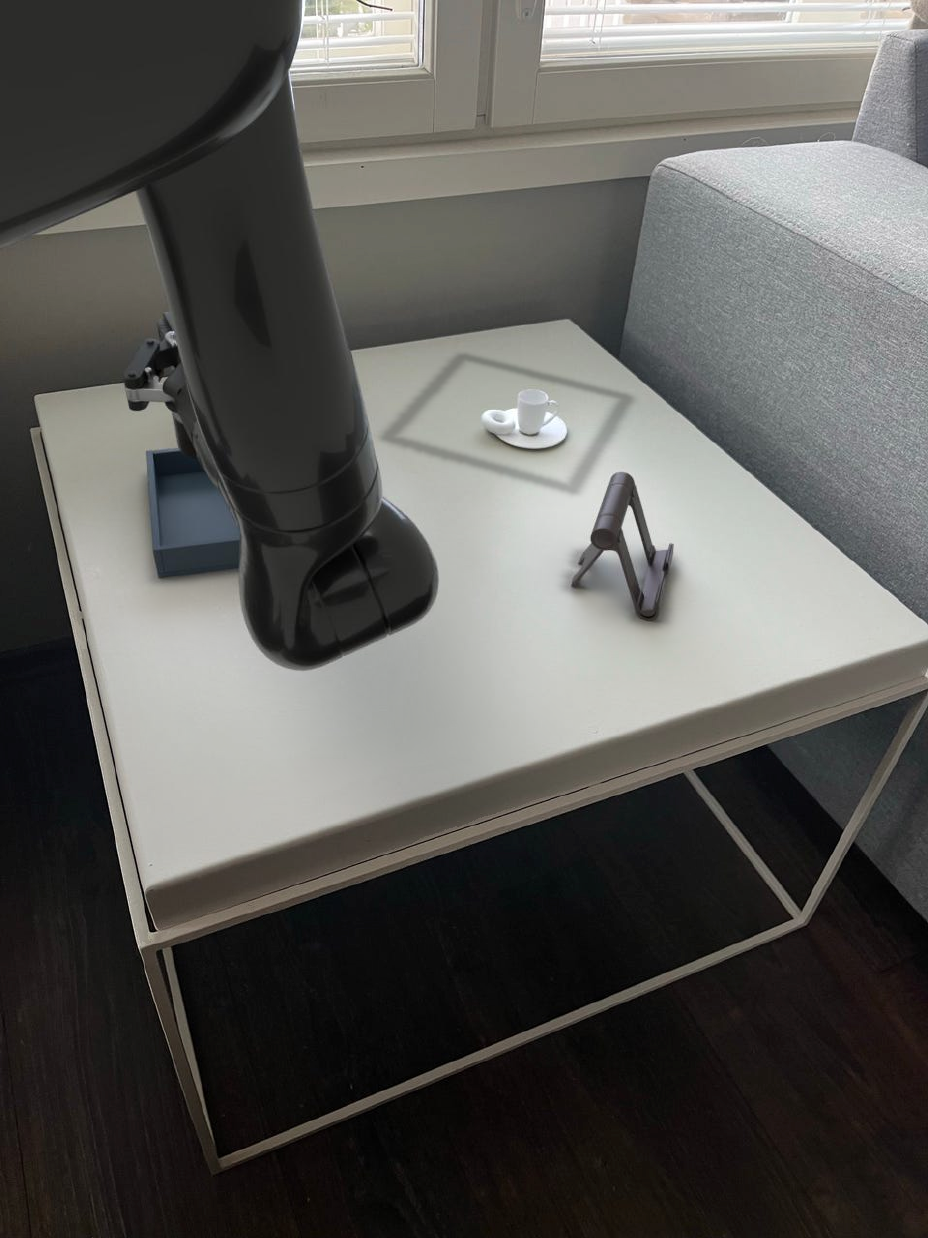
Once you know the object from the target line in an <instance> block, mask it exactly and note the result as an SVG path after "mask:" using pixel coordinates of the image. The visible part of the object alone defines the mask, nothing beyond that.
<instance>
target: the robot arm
mask: <svg viewBox="0 0 928 1238" xmlns="http://www.w3.org/2000/svg"><path fill="white" fill-rule="evenodd" d="M305 6H306V0H0V250H3V249H5V248H7V247H10V246H12V245H14V244H16V243H19V242H21V241H23V240H25V239H28V238H31V237H33V236H35V235H38V234H39V233H42V232H44V231H46V230H48V229H50V228H53V227H55V226H58V225H60V224H62V223H65V222H66V221H69V220H72V219H74V218H76V217H78V216H80V215H83V214H85V213H88V212H90V211H93V210H95V209H97V208H100V207H103V206H104V205H106V204H108V203H111V202H113V201H115V200H118V199H121V198H123V197H125V196H127V195H130V194H132V193H134V194H135V196H136V199H137V202H138V205H139V208H140V211H141V214H142V218H143V219H144V220H143V221H144V223H145V226H146V230H147V232H148V235H149V240H150V243H151V247H152V250H153V254H154V258H155V260H156V265H157V268H158V272H159V276H160V280H161V284H162V289H163V292H164V296H165V301H166V304H167V305H166V306H167V309H168V311H167V312H163V313H162V317H163V319H158V320H157V322H156V326H157V332H158V338H159V339H156V338H146V339H144V340H143V341H141V343H140V345H139V346H138V348H137V350H136V351H135V353H134V355H133V357H132V358H131V360H130V362H129V364H128V365H127V367H126V368H125V371H124V372H123V374H122V379H123V384H124V385H123V386H124V391H125V395H126V396H125V397H126V399H127V404H128V405H127V406H128V409H129V410H130V411H132V412H142V411H144V410H146V409H147V407H148V406H149V404H150V403H164V405H165V407H166V408H167V409H168V410H169V411H170V412H171V413H172V412H174V413H176V414H178V415H179V417H180V419H181V421H182V423H183V425H184V427H185V429H186V431H187V434H188V436H189V438H190V440H191V442H192V444H193V446H194V448H195V450H196V452H197V458H198V460H199V462H200V464H201V466H202V468H203V470H205V471H206V473H207V475H208V477H209V478H210V480H211V482H212V483H213V485H214V486H215V487H216V488H217V490H218V491H219V492H220V493H221V495H222V497H223V499H224V501H225V503H226V505H227V507H228V509H229V511H230V513H231V515H232V517H233V520H234V522H235V524H236V526H237V528H238V530H239V567H238V569H237V570H238V572H237V574H238V575H237V577H238V580H237V581H238V593H239V594H238V595H239V603H240V609H241V613H242V617H243V620H244V624H245V627H246V629H247V631H248V633H249V635H250V638H251V640H252V641H253V643H254V645H255V646H256V647H257V649H258V650H259V651H260V652H261V653H262V654H263V656H264V657H266V658H267V659H268V660H269V661H271V662H272V663H274V664H276V665H277V666H280V667H282V668H285V669H288V670H291V671H298V672H305V671H312V670H316V669H319V668H322V667H324V666H327V665H329V664H331V663H334V662H336V661H338V660H340V659H342V658H344V657H346V656H348V655H351V654H353V653H355V652H357V651H360V650H361V649H364V648H366V647H368V646H371V645H372V644H374V643H377V642H379V641H382V640H383V639H385V638H387V636H392V635H394V634H396V633H397V634H398V633H399V632H402V631H404V630H405V629H407V628H409V627H411V626H413V625H415V624H417V623H419V622H420V621H422V620H423V619H424V618H425V617H426V616H427V615H428V614H429V613H430V611H431V610H432V608H433V606H434V604H435V602H436V599H437V596H438V593H439V585H440V584H439V582H440V579H439V578H440V576H439V569H438V564H437V560H436V557H435V554H434V552H433V550H432V548H431V546H430V543H429V541H428V540H427V539H426V537H425V536H424V534H423V533H422V531H421V530H420V529H419V527H418V526H417V525H416V524H415V523H414V522H413V521H412V519H410V518H409V517H408V516H407V514H405V512H404V511H403V510H402V509H400V508H399V507H398V506H397V505H395V504H394V503H392V502H391V500H390V501H389V499H387V498H385V496H383V483H382V475H381V471H380V467H379V462H378V457H377V453H376V448H375V443H374V439H373V435H372V430H371V425H370V420H369V417H368V412H367V409H366V404H365V399H364V396H363V392H362V387H361V384H360V380H359V377H358V372H357V368H356V365H355V361H354V358H353V354H352V351H351V347H350V344H349V343H350V342H349V340H348V336H347V331H346V329H345V325H344V322H343V321H344V320H343V318H342V314H341V310H340V308H339V304H338V299H337V296H336V291H335V289H334V285H333V281H332V277H331V273H330V269H329V267H328V261H327V259H326V254H325V251H324V246H323V244H322V239H321V236H320V231H319V226H318V224H317V219H316V215H315V210H314V206H313V202H312V197H311V196H312V195H311V191H310V187H309V181H308V177H307V173H306V172H307V171H306V168H305V163H304V159H303V152H302V146H301V145H302V144H301V140H300V133H299V129H298V122H297V117H296V111H295V109H296V108H295V103H294V95H293V88H292V81H291V73H290V69H291V67H292V65H293V62H294V60H295V57H296V53H297V50H298V46H299V43H300V40H301V34H302V29H303V24H304V19H305V18H304V17H305V8H306V7H305ZM168 368H170V369H171V370H172V372H171V373H170V374H169V375H168V376H167V378H166V379H165V380H164V381H163V383H162V382H161V381H162V379H163V377H164V375H165V370H166V369H168Z"/></svg>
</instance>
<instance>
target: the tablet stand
mask: <svg viewBox="0 0 928 1238" xmlns="http://www.w3.org/2000/svg"><path fill="white" fill-rule="evenodd" d="M629 507H630V508H631V510H632V513H633V516H634V519H635V523H636V527H637V531H638V534H639V537H640V541H641V544H642V547H643V551H644V555H645V558H646V562H647V566H648V567H647V571H646V573H645V577H644V581H643V584H642V589H641V588H640V584H639V581H638V578H637V574H636V571H635V568H634V564H633V561H632V557H631V554H630V551H629V548H628V544H627V542H626V538H625V535H624V530H623V528H622V527H623V524H624V521H625V518H626V514H627V511H628V508H629ZM644 513H645V512H644V510H643V507H642V503H641V499H640V496H639V492H638V487H637V484H636V481H635V479H634V477H633V475H631V474H630V473H629V472H625V471H618V472H615V473H613V474H612V475H611V477H610V478H609V482H608V485H607V487H606V491H605V493H604V496H603V499H602V502H601V505H600V507H599V511H598V513H597V516H596V519H595V522H594V525H593V528H592V530H591V534H590V538H589V539H590V544H589V545H588V546H587V547H586V549H585V550H584V551H583V552H582V553H581V556H580V558H579V560H578V563H577V565H580V568H579V570H578V571H577V572H576V574H575V575H574V576H573V578H572V581H571V583H570V586H571V587H573V588H574V587H575V586H577V584H578V583H579V582H580V580H581V579H582V578H583V577H584V576H585V575H586V573H587V572H588V571H589V570H590V568H591V567H593V565H594V564H595V562H596V561H597V560H598V558H600V557H601V555H602V554H603V553H604V551H605V552H606V551H612V552H615V553H616V554H617V555H618V558H619V561H620V564H621V567H622V571H623V575H624V577H625V578H624V579H625V581H626V584H627V587H628V591H629V595H630V597H631V600H632V603H633V607H634V610H635V614H636V616H637V617H638V618H640V619H641V620H643V621H646V622H652V621H655V620H656V619H658V617H659V615H660V612H661V607H662V603H663V599H664V595H665V591H666V585H667V581H668V578H669V573H670V568H671V564H672V560H673V556H674V547H675V546H674V545H675V544H674V543H672V542H670V543H669V544H668V547H667V549H661V550H660V549H659V550H657V549H656V546H655V545H654V544H653V542H652V538H651V534H650V532H649V531H650V530H649V528H648V524H647V521H646V517H645V514H644Z"/></svg>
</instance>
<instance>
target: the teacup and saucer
mask: <svg viewBox="0 0 928 1238" xmlns="http://www.w3.org/2000/svg"><path fill="white" fill-rule="evenodd" d="M550 405H554V406H555V407H556V408H555V411H554V412H553V413H551V412H549V411H547V409H548V407H549V406H550ZM559 407H560V406H559V404H558V402H557V401H555V400H549V396H548V394H547V393H546V392H544V391H542V390H539V389H534V388H533V389H532V388H531V389H530V388H529V389H524V390H522V391H520V392H519V393H518V395H517V407H514V408H511V409H507V410H504V411H503V410H500V409H488V410H486V411H485V412H483V414H482V415H481V418H480V421H481V424H482V426H483V428H484V429H486V430H487V431H489V432H490V433H493V434H494V435H495V436H496V437H497V438H498V439H500V440H501V441H503V442H505V443H507V444H509V445H511V446H514V447H518V448H523V449H530V450H531V449H533V450H534V449H535V450H536V449H546V448H550V447H553V446H556V445H558V444H560V443H562V442H563V441H564V440H565V439H566V437H567V435H568V428H567V425H566V423H565V422H564V421H563V420H562V419H561V418H560V417H559V416H557V414H558V411H559ZM520 431H521V432H522V433H523V434H525V435H523V434H522V433H521V432H520ZM537 433H538V434H537ZM536 434H537V435H536ZM526 435H535V436H526Z"/></svg>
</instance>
